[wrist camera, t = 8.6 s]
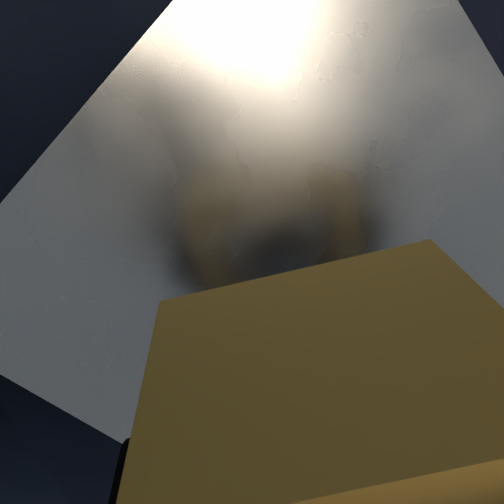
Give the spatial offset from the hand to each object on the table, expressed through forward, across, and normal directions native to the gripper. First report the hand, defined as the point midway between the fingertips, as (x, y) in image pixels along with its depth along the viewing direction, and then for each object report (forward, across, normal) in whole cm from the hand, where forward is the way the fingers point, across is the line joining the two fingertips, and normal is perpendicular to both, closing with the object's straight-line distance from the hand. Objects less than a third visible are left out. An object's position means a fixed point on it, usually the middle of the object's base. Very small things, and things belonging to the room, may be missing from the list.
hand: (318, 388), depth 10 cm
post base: (+4, 0, 0) cm, 4 cm away
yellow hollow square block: (+1, 0, +2) cm, 2 cm away
